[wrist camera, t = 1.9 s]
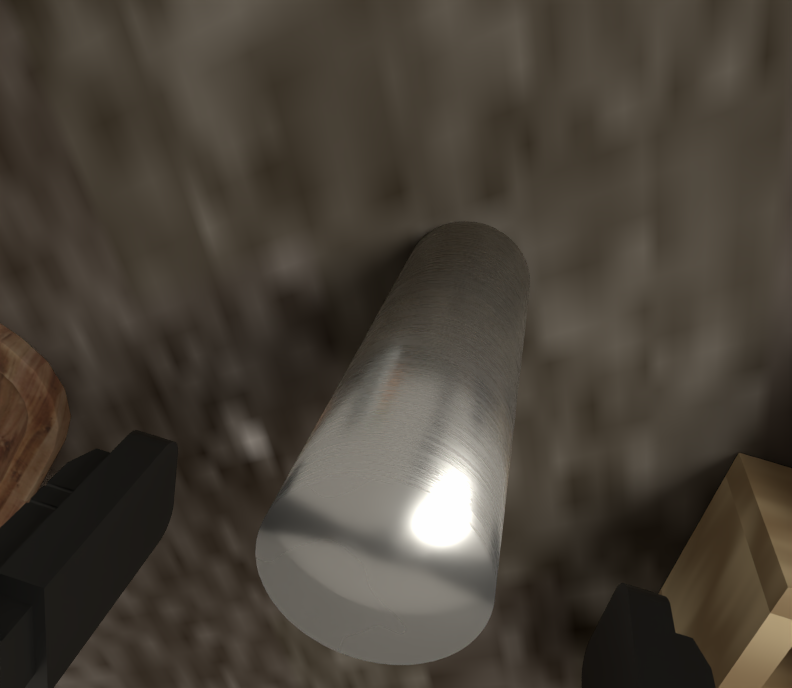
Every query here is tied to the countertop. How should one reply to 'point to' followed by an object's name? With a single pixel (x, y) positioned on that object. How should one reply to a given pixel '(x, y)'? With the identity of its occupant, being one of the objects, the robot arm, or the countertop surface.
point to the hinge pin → (409, 463)
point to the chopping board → (27, 421)
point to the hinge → (740, 578)
